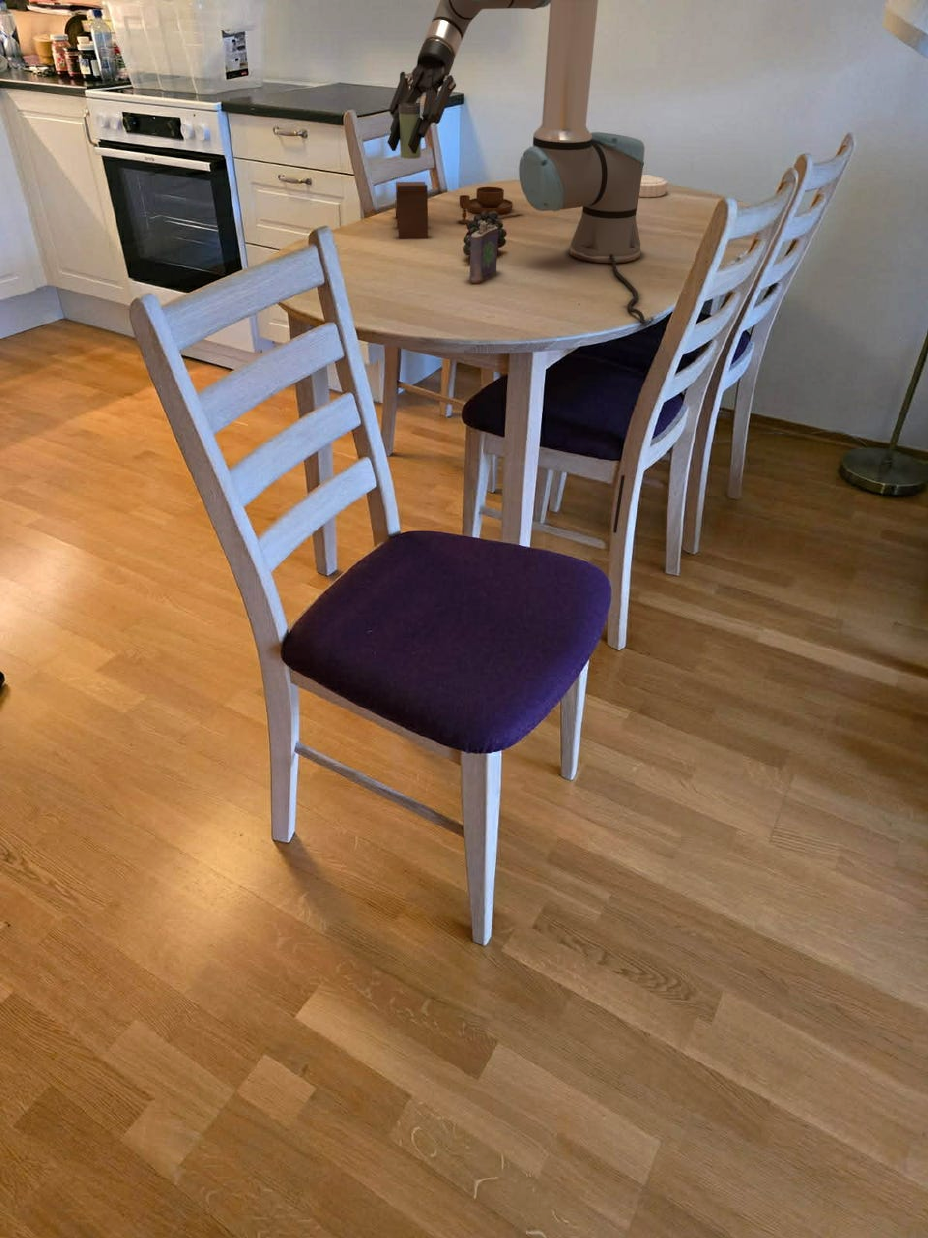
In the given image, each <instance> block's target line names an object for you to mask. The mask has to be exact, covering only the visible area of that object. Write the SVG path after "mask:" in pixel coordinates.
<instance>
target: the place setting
mask: <svg viewBox="0 0 928 1238" xmlns="http://www.w3.org/2000/svg"><path fill="white" fill-rule="evenodd" d="M475 196H476V197H475V198H471V196H470V195H467V194H462V195H459V207H460V209H462V213H461V214H462V216H461V217H462V219H461V220H459V221H458V224H460V225H467V223H469V222H470V221H471V220H468V219H467V215H468V213H467V210H469V211H470V212H472V213H474V214H479V215H481V214H482V212H483V211H487V212H489V213H490V212H492V211H496V212H497V213H498V215H501V216H499V217H498V220H501V218H508V217H509V218H510V217H517V216H521V215H522V214H521V213H519V214H509V215H503V214H507V213H508V212H509V211H511V210H512V209H513V206H514V202H513V201H511V200H509V199H506V198H504V196H505V190H504V189H503V188H502V187H498V186H479V187H477V188H476V195H475Z"/></svg>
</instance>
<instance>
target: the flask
mask: <svg viewBox="0 0 928 1238" xmlns="http://www.w3.org/2000/svg"><path fill="white" fill-rule="evenodd" d="M482 221H483V220H481V221H479V222H478V224H479V223H480V222H481V223H480V224H481V225H480V227H479V229H480V230H478V231H476V232H474V233H473V234H472V235H471V254H470V258H469V261H470V262H469V263H470V264H469V283H471V284H476V285H477V284H478V283H483V281H486V280H488V279H489V278H491V276H492V277H493V276H494V275H497V259H498V258H497V257H498V252H497V242H498V227H495V226H491V225H487V226H486V224H488V223H486V222H485V221H483V222H482Z"/></svg>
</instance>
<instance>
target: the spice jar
mask: <svg viewBox="0 0 928 1238" xmlns="http://www.w3.org/2000/svg"><path fill="white" fill-rule="evenodd" d="M421 113H422V111H421V104H420V103H417V102H415V103H403V104H399V123H400V140H399V148H400V150H399V151H400V158H402V159H408V160H409V159H410V160H411V159H413V160H414V159H420V158H422V140H421V141H420V144H419V146H418V149H417V152H416V154H415V153H412V151H411V149H410V147H409V146H408V143H409V140H410V138H411V135H412V133H413V130H414V128H415V125H416V122H417V120H418V117H420V118H421Z"/></svg>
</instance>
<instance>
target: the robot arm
mask: <svg viewBox="0 0 928 1238" xmlns="http://www.w3.org/2000/svg"><path fill="white" fill-rule="evenodd" d="M548 6H549V18H548V20H549V21H548V33H547V44H546V45H547V46H546V60H545V73H544V74H545V75H544V90H543V101H542V102H543V103H542V118H541V124H540V126H539V127H538V128H537V129H536V130H535V131H534V133H533V136H532V146H529V147H528V148H526V149H525V150H524V152H523V153H522V156H521V157H520V159H519V166H518V167H519V168H518V171H519V172H518V174H519V182H520V187H521V190H522V193H523V194H524V196H525V199H526V201H527V202H528V204H529V205H530V206H531V207H532V208H533V209H535V210H537V211H539V212H550V211H552V212H559V211H561V210H569V209H577V208H582V210H581V215H580V219H579V222H578V224H577V226H576V229H575V232H574V234H573V237H572V239H571V241H570V242H571V243H570V247H569V254H570V255H571V256H573V257H574V258H576V259H578V260H582V261H585V262H590V263H597V264H611V265H612V270H613V273H614V275H615V276H616V277H617V278H618V280H620V281H622V283H624V284H625V286H626V287H627V288H628V289H629V290H630V291H631V292H632V293H633V298H631V299H630V300H629V302H628V303H627V305H626V308H627V310H628V312H630V313H634V314H636V315H638V317H639V321H640V324H641V325H645V324H646V321H645V317H644V314H643V313H642V311H641V310H640V309H638V308H635V307H632V305H633V304H635V302H636V301H638V298H639V293H638V290H637V289H636V288H635V287H634V286H633V285H632V284H631V282H629V280H627V279H626V278H625V277H624V276H623V275H621V273H620V272H619V270H618V268H617V264H624V263H629V262H630V263H631V262H633V261H635V260H638V259H639V258H640V255H641V240H640V235H639V234H640V233H639V227H638V222H637V214H638V213H637V212H638V205H639V198H640V197H639V191H640V184H641V177H642V175H643V170H644V165H645V162H644V158H645V144H644V143H643V141H642V140H641V139H638V138H635V137H631V136H626V135H621V134H617V133H608V132H601V131H600V132H599V131H593V132H590V130H589V129H588V128H587V119H588V118H587V116H588V106H589V97H590V89H591V87H590V86H591V77H592V66H593V56H594V45H595V35H596V26H597V17H598V16H597V15H598V7H599V0H439V2H438V5H437V8H436V10H435V13H434V15H433V19H432V20H431V23H430V25H429V27H428V30H427V33H426V35H425V37H424V40H423V43H422V44H421V45H422V46H421V48H420V51H419V53H418V56H417V60H416V66H415V67H414V69H412V71H411V72H409V73H406V72H405V71H401V72H400V74H399V81H398V85H397V87H396V90H395V93H394V95H393V97H392V100H391V102H390V105H389V108H388V112H389V114H390V116H391V118H393V120H392V123H391V125H390V128H389V131H390V134H389V137H388V139H387V145H388V146H389V148H390V150H391V151H392V152H396V151H397V148H398V145H399V144H400V123H399V104H403V103H417V101H418V99H420V98H422V96H423V94H425V98H424V103H423V104H424V105H423V110H422V112H421V113H420V117H418V120H417V122H416V125H415V128H414V130H413V133H412V135H411V138H410V140H409V143H408V146H409V147H410V149H411V151H412V153H415V154H416V152H417V149H418V146H419V144H420V141H421V142H422V139H424V138H426V136H427V132H428V131H429V128H430V127H431V126H432V124H435V125H438V124H440V123H441V120H442V117H443V115H444V112H445V110H446V107H447V104H448V102H449V99H450V96H451V94H452V93H453V92H454V90H455V89H456V88H457V83H456V81H455V79H454V76H453V75H452V74H451V71H452V68H453V65H454V63H455V59H456V57H457V55H458V52H459V50H460V47H461V45H462V42H463V39H464V37H465V35H466V31H467V30H468V27H469V26H470V23H471V22H472V21H473V20H474V19H475V18H476V17H477V16H478V14H479V13H480V12H481V11H482V10H500V9H502V10H504V9H512V10H513V9H528V10H536V9H541V8H546V7H548ZM625 477H626V474H621V475H620V482H619V487H618V488H619V489H618V496H617V501H616V509H615V515H614V522H613V529H612V533H614V534H616V533H617V530H618V524H619V517H620V511H621V505H622V498H623V491H624V485H625Z"/></svg>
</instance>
